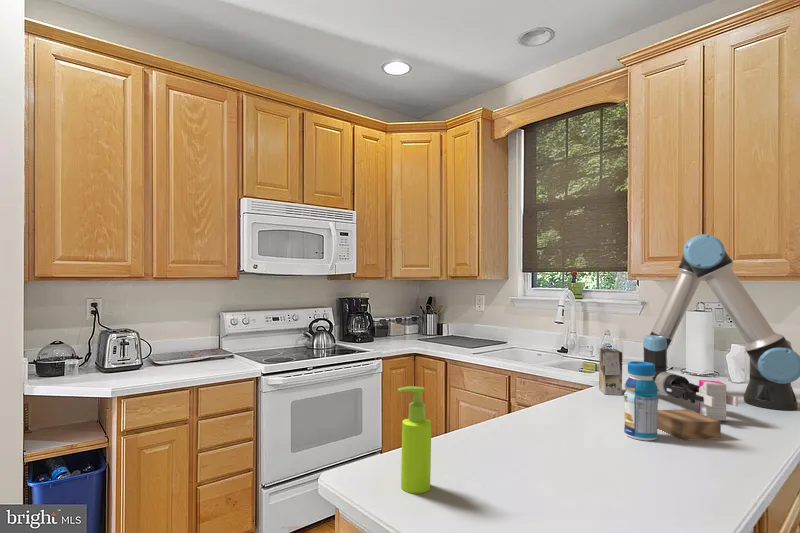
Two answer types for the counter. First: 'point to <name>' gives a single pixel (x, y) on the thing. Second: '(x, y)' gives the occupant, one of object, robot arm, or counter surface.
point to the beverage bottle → (641, 402)
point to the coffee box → (610, 371)
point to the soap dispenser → (416, 445)
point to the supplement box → (719, 394)
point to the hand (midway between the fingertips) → (724, 401)
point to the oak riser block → (688, 424)
